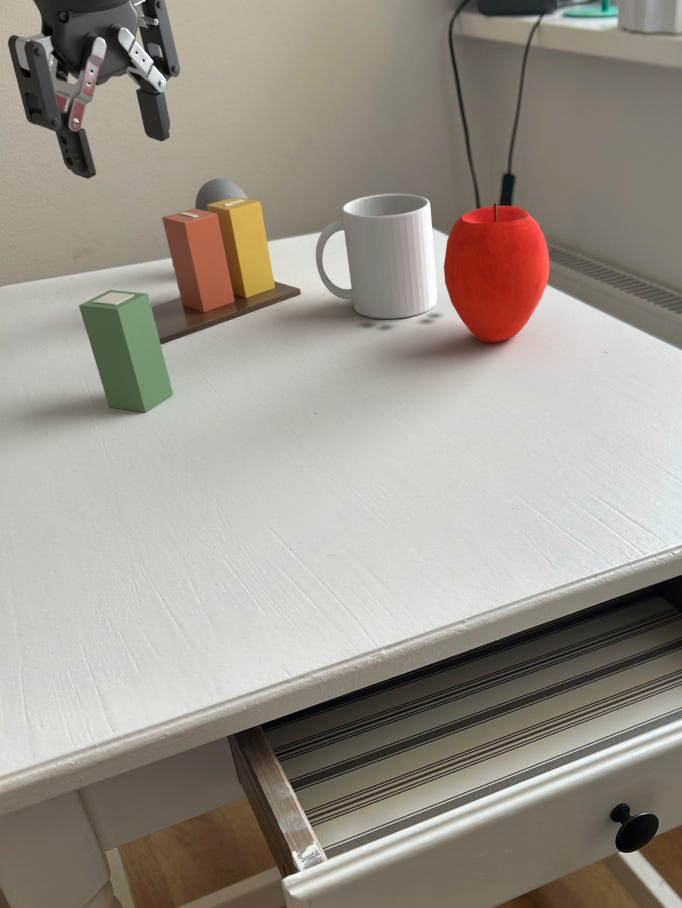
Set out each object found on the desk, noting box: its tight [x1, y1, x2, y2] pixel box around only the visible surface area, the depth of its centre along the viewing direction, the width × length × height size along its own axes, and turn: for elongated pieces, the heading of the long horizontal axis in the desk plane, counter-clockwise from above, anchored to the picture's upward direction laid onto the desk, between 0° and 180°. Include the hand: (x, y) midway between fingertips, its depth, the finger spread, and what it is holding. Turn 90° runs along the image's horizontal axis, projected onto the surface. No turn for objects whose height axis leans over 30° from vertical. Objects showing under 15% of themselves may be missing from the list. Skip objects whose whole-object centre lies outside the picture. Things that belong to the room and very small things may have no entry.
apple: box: [443, 202, 550, 343], centre depth 91 cm, size 10×10×12 cm
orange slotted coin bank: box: [161, 207, 234, 312], centre depth 102 cm, size 4×4×9 cm
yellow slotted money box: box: [207, 197, 275, 298], centre depth 105 cm, size 4×4×9 cm
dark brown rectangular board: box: [151, 280, 302, 345], centre depth 105 cm, size 9×20×1 cm, turn 138°
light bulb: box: [194, 178, 248, 212], centre depth 113 cm, size 6×6×10 cm
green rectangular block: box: [78, 289, 174, 413], centre depth 84 cm, size 4×4×9 cm
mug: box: [315, 193, 438, 320], centre depth 101 cm, size 11×10×10 cm
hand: (122, 156), depth 82 cm, fingers open, 8 cm apart
